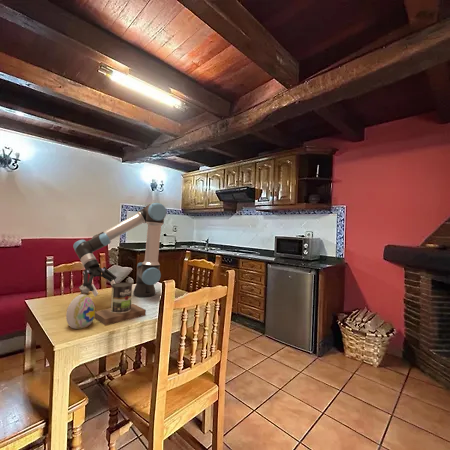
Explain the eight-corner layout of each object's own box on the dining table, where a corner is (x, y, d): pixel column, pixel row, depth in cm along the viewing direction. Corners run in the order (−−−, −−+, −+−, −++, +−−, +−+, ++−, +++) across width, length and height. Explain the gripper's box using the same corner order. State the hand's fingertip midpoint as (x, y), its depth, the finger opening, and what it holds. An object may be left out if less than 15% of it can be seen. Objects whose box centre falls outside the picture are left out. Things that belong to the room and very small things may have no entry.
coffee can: (134, 310, 141) (136, 284, 141) (117, 315, 133) (118, 287, 133) (124, 306, 147) (125, 281, 147) (106, 310, 139) (108, 284, 139)
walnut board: (132, 308, 152) (133, 303, 152) (145, 315, 143) (145, 309, 143) (93, 317, 136) (94, 311, 136) (105, 325, 127) (105, 319, 127)
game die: (82, 298, 180) (79, 285, 184) (95, 293, 183) (92, 281, 187) (78, 295, 172) (75, 282, 176) (91, 290, 175) (88, 277, 179)
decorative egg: (80, 332, 117) (82, 299, 118) (59, 328, 121) (60, 296, 121) (100, 322, 129) (101, 292, 129) (80, 319, 132) (81, 290, 133)
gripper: (104, 264, 163) (121, 291, 156) (66, 269, 140) (83, 302, 134) (111, 256, 161) (128, 284, 154) (72, 261, 138) (90, 293, 132)
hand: (107, 292), depth 144 cm, fingers open, 13 cm apart
